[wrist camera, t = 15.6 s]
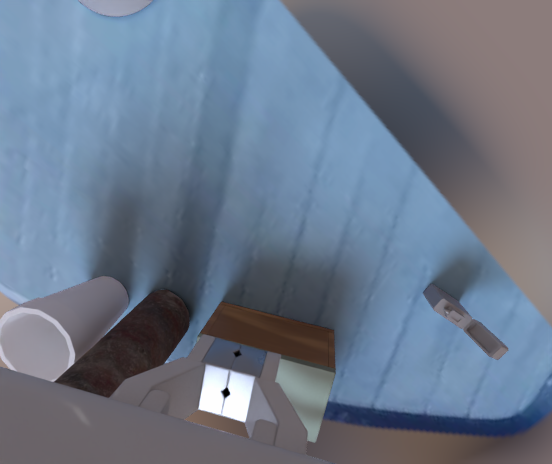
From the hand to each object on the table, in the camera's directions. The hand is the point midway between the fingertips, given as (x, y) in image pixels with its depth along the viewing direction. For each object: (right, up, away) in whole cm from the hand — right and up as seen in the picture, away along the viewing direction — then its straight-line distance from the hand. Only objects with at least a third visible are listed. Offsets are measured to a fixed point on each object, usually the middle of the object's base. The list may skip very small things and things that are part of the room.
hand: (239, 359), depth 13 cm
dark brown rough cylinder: (-14, -7, +36) cm, 39 cm away
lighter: (+23, -4, +30) cm, 38 cm away
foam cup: (-23, -5, +37) cm, 44 cm away
